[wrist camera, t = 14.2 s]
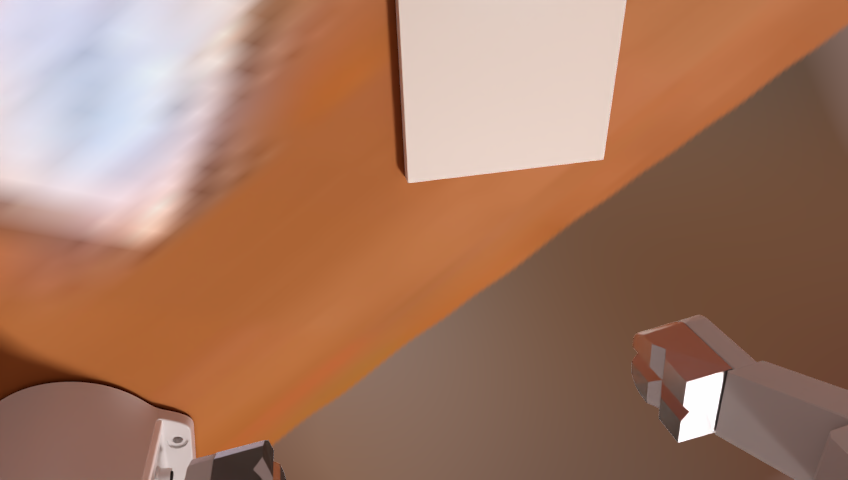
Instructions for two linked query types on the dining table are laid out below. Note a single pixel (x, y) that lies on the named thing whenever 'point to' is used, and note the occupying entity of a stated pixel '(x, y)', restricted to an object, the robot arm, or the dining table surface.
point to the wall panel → (505, 83)
